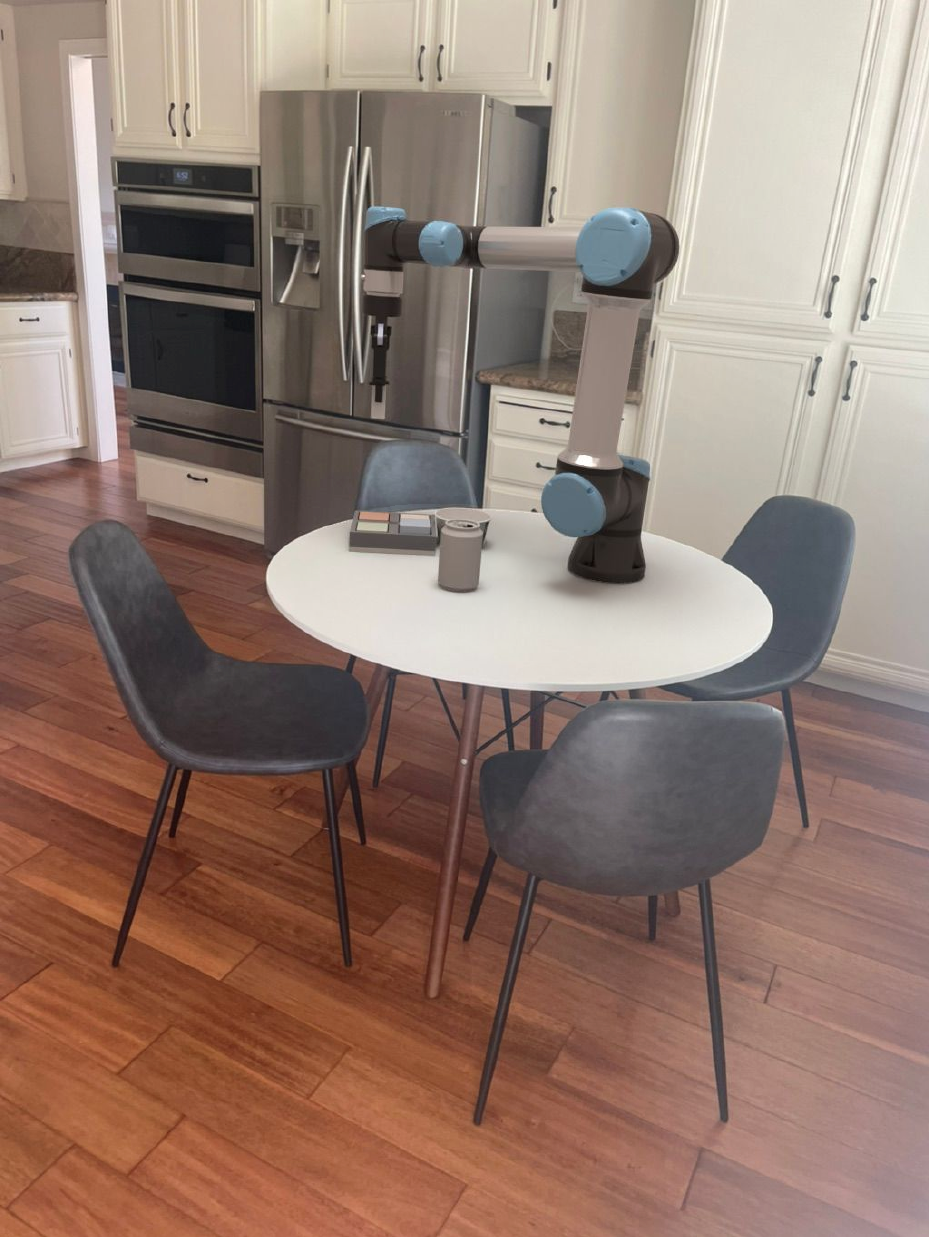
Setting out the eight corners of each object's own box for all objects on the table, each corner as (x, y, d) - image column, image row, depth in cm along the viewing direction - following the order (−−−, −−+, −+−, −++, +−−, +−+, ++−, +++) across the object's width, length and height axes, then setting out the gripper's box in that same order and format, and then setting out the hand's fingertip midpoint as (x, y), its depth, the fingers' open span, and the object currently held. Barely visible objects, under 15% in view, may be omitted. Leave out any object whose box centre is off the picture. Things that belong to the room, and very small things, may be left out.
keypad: (433, 532, 203) (434, 514, 201) (435, 556, 187) (436, 536, 186) (354, 528, 202) (354, 510, 200) (349, 551, 186) (349, 531, 184)
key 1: (387, 535, 192) (387, 523, 192) (386, 543, 187) (387, 531, 186) (357, 533, 192) (358, 522, 191) (356, 542, 186) (356, 529, 186)
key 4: (428, 526, 201) (429, 515, 200) (428, 534, 195) (429, 522, 194) (400, 525, 201) (400, 513, 200) (399, 532, 195) (400, 521, 194)
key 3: (429, 531, 193) (429, 519, 192) (429, 539, 187) (430, 527, 186) (399, 529, 192) (400, 517, 191) (399, 537, 187) (400, 525, 186)
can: (474, 595, 166) (479, 530, 162) (433, 590, 168) (437, 524, 163) (482, 582, 173) (487, 519, 169) (442, 577, 175) (446, 514, 170)
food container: (422, 546, 193) (424, 515, 190) (446, 533, 203) (448, 504, 201) (476, 557, 189) (478, 525, 186) (498, 543, 199) (500, 513, 197)
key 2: (388, 524, 200) (388, 513, 199) (387, 532, 195) (388, 520, 194) (360, 523, 200) (360, 511, 199) (358, 530, 194) (359, 518, 193)
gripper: (364, 292, 187) (360, 412, 195) (361, 294, 175) (357, 422, 183) (402, 294, 187) (397, 414, 196) (401, 297, 175) (396, 424, 184)
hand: (377, 418), depth 189 cm, fingers closed
